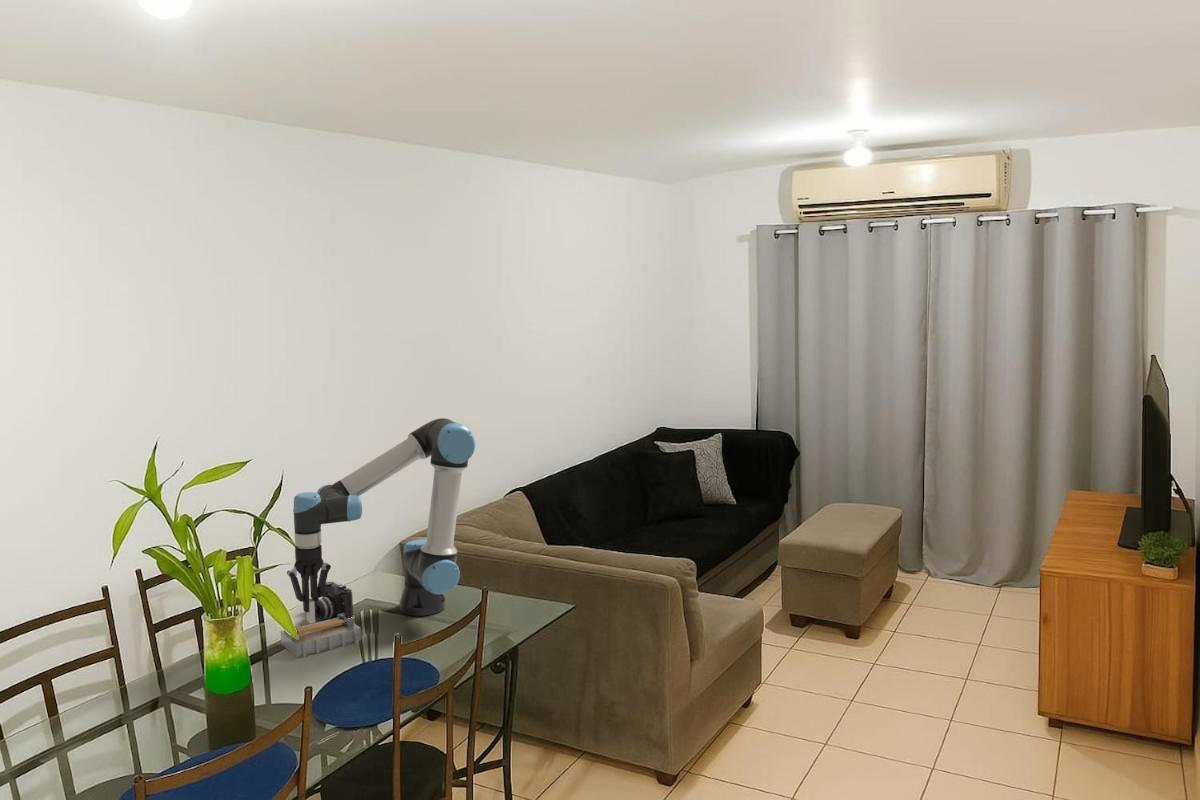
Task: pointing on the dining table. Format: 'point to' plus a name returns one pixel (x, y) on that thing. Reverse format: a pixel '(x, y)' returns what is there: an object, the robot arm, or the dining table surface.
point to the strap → (320, 626)
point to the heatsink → (322, 638)
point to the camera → (335, 602)
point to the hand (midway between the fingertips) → (310, 621)
